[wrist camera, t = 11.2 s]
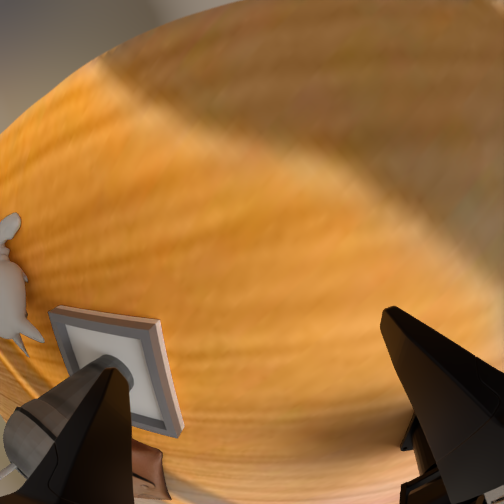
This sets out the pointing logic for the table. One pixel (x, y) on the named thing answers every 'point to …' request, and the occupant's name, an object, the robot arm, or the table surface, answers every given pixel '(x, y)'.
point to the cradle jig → (124, 360)
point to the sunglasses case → (148, 472)
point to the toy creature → (13, 290)
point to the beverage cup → (50, 416)
